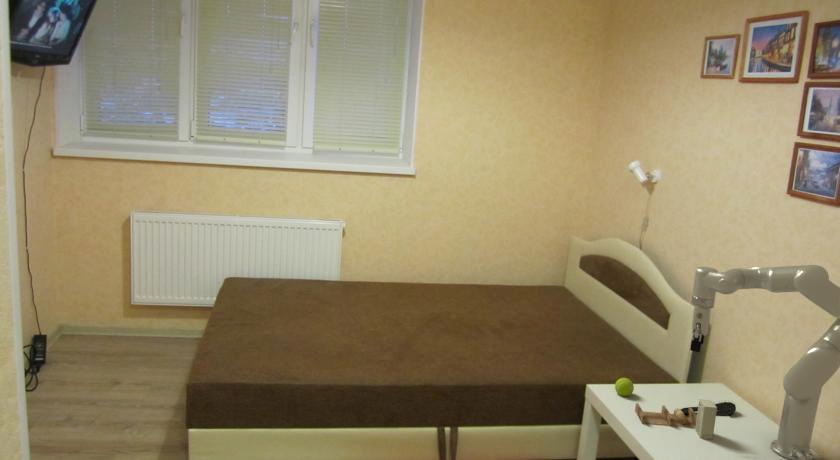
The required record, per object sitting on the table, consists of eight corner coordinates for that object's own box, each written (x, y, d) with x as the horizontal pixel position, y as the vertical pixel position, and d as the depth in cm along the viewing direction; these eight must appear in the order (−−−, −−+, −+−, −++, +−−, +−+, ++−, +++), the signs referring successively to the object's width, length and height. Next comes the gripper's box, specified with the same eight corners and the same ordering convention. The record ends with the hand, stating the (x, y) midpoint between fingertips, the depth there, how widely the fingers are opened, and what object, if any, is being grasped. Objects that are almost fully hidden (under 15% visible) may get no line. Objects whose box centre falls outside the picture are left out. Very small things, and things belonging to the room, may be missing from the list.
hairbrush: (670, 403, 245) (726, 396, 252) (669, 412, 245) (724, 405, 252) (685, 413, 237) (742, 406, 244) (684, 422, 238) (740, 415, 245)
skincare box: (712, 441, 224) (718, 408, 222) (699, 439, 225) (704, 406, 222) (707, 432, 230) (712, 400, 228) (693, 430, 231) (698, 398, 228)
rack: (699, 430, 231) (700, 420, 231) (641, 425, 232) (643, 415, 232) (689, 417, 241) (691, 407, 240) (634, 412, 242) (635, 403, 242)
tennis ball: (613, 390, 260) (615, 373, 259) (632, 393, 258) (634, 376, 257) (614, 397, 254) (616, 380, 252) (632, 400, 252) (635, 383, 251)
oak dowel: (688, 425, 233) (688, 417, 232) (679, 425, 233) (680, 417, 232) (681, 416, 240) (682, 408, 239) (673, 416, 240) (674, 408, 239)
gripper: (711, 309, 224) (705, 356, 228) (716, 298, 239) (710, 342, 242) (688, 305, 228) (682, 352, 231) (694, 294, 243) (688, 338, 246)
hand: (696, 347), depth 237 cm, fingers open, 9 cm apart
